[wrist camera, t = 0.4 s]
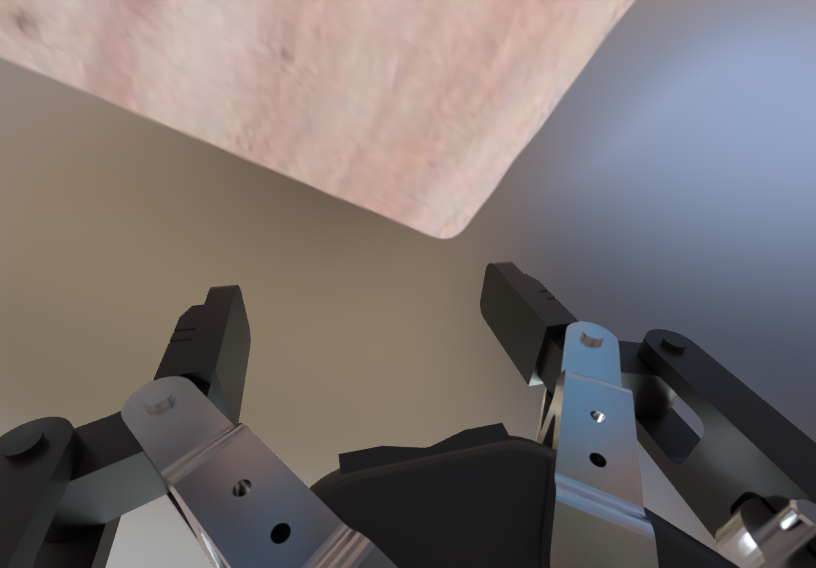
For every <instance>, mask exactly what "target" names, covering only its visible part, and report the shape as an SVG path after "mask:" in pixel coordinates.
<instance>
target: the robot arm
mask: <svg viewBox="0 0 816 568" xmlns="http://www.w3.org/2000/svg"><path fill="white" fill-rule="evenodd" d="M480 308H481V313H482V315H483V318H484V319H485V321H486V322H487V324H488V325H489V327H490V328H491V330H492V331H493V333H494V334H495V336H496V337H497V339H498V340H499V342H500V343H501V345H502V346H503V348H504V349H505V351H506V352H507V354H508V355H509V357H510V358H511V360H512V361H513V363H514V364H515V366H516V367H517V369H518V370H519V372H520V373H521V375H522V376H523V378H524V380H525V381H526V383H527V384H528V386H532V385H538V384H544V385H545V386H546V390H545V393H544V396H543V403H542V409H541V415H540V421H539V427H538V433H537V439H536V441H533V440H530V439H526V438H523V437H517V436H510V435H508V433H507V431H506V429H505V427H504V425H503V423H499V424H494V425H488V426H483V427H478V428H473V429H467V430H464V431H462V432H460V433H458V434H456V435H454V436H451V437H450V438H447V439H445V440H443V441H441V442H439V443H437V444H435V445H433V446H431V447H427V448H417V447H416V448H415V447H393V446H379V447H374V448H369V449H364V450H358V451H354V452H348V453H343V454H339V463H340V468H339V469H337V470H335V471H333V472H331V473H329V474H328V475H326V476H325V477H323V478H321V479H320V480H319V481H317V482H316V483H315V484H314V485H312V486H311V487H310V488H308V487H307V486H306V485H305V484H304V483H303V482H302V481H301V480H300V479H299V478H298V477H297V476H296V475H295V474H294V473H293V472H292V471H291V470H290V469H289V468H288V467H287V466H286V465H285V464H284V463H283V462H282V461H281V460H280V459H279V458H278V457H277V456H276V455H275V454H274V453H273V452H272V451H271V450H270V449H269V448H268V447H267V446H266V445H265V444H264V443H263V442H262V441H261V440H260V439H259V438H258V437H257V436H256V435H255V434H254V433H253V432H252V431H251V430H250V429H249V428H248V427H247V426H246V425H245V424H243V423H239V424H238V422H239V416H240V409H241V403H242V396H243V390H244V383H245V377H246V370H247V364H248V357H249V351H250V343H251V341H250V340H251V338H250V328H249V323H248V319H247V314H246V310H245V306H244V302H243V298H242V293H241V290H240V287H239V285H230V286H219V287H211V288H210V290H209V292H208V295H207V298H206V301H205V303H204V305H196V306H192V307H191V308H189V309H188V310H187V311H186V312H185V313H184V314H183V315H182V316H181V317H180V318H179V320H178V323H177V325H176V328H175V330H174V331H175V333H173V335H172V337H171V339H170V343H169V344H168V347H167V349H166V351H165V354H164V356H163V358H162V361H161V363H160V366H159V368H158V370H157V373H156V375H155V377H154V380H153V381H152V382H149V383H147V384H145V385H144V386H142V387H140V388H139V389H137V390H136V391H135V392H134V393H133V394H132V395H130V396H129V398H128V399H127V400H126V402H125V403H124V405H123V407H122V411H120V412H118V413H115V414H113V415H111V416H108V417H105V418H102V419H100V420H97V421H94V422H91V423H88V424H86V425H83V426H80V427H77V428H75V429H74V427H73V426H72V424H71V423H70V422H69V421H68V420H67V419H64V418H61V417H46V418H40V419H36V420H33V421H30V422H27V423H25V424H22V425H20V426H18V427H16V428H14V429H12V430H11V431H9V432H7V433H6V434H4V435H3V436H1V437H0V568H105V567H106V563H107V560H108V557H109V553H110V550H111V547H112V544H113V541H114V537H115V534H116V531H117V527H118V524H119V521H120V517H121V515H123V514H125V513H127V512H129V511H131V510H134V509H136V508H138V507H140V506H142V505H144V504H146V503H148V502H150V501H153V500H155V499H157V498H159V497H161V496H163V495H166V496H167V498H168V499H169V501H170V502H171V504H172V505H173V506H174V508H175V510H176V511H177V512H178V514H179V515H180V517H181V518H182V520H183V521H184V523H185V524H186V526H187V527H188V529H189V530H190V532H191V533H192V534H193V536H194V537H195V539H196V540H197V542H198V543H199V545H200V546H201V548H202V549H203V551H204V552H205V554H206V555H207V557H208V559H209V560H210V562H211V564H212V565H213V567H214V568H816V443H815V442H814V441H813V440H811V439H810V438H809V437H808V436H807V435H805V434H804V433H803V432H802V431H801V430H799V429H798V428H797V427H796V426H794V425H793V424H792V423H791V422H790V421H788V420H787V419H786V418H785V417H783V416H782V415H781V414H780V413H779V412H778V411H776V410H775V409H774V408H773V407H771V406H770V405H769V404H768V403H767V402H765V401H764V400H763V399H762V398H761V397H759V396H758V395H757V394H756V393H755V392H753V391H752V390H751V389H749V388H748V387H747V386H746V385H745V384H744V383H742V382H741V381H740V380H739V379H737V378H736V377H735V376H734V375H732V374H731V373H730V372H729V371H728V370H727V369H725V368H724V367H723V366H722V365H721V364H719V363H718V362H717V361H716V360H714V359H713V358H712V357H711V356H710V355H708V354H707V353H706V352H705V351H704V350H702V349H701V348H700V347H699V346H698V345H696V344H695V343H694V342H692V341H691V340H690V339H688V338H686V337H684V336H682V335H680V334H678V333H675V332H672V331H668V330H662V329H655V330H650V331H648V332H647V333H646V335H645V337H644V339H643V341H642V343H636V342H625V341H618V340H617V338H616V337H615V336H614V335H613V334H612V333H611V332H610V331H608V330H606V329H605V328H603V327H601V326H599V325H596V324H593V323H589V322H579V321H578V320H577V319H576V318H575V317H574V316H573V315H572V314H571V313H570V312H569V311H568V310H567V309H566V308H565V307H564V306H563V305H562V304H561V303H560V302H559V301H558V300H557V299H555V297H554V296H553V295H552V294H551V293H550V292H548V290H547V289H546V288H545V287H544V286H543V285H542V284H541V283H540V282H539V281H538V280H536V279H534V278H532V277H530V276H529V275H527V274H523V273H522V272H521V271H520V270H519V269H518V268H517V267H516V266H515V265H514V264H513V263H512V262H510V261H508V262H497V263H490V264H488V266H487V267H486V271H485V277H484V283H483V288H482V294H481V300H480ZM678 396H679V397H680V398H681V399H682V400H683V401H684V402H685V403H686V404H687V405H688V406H689V407H690V408H691V409H692V410H693V411H694V412H695V413H696V414H697V415H698V416H699V417H700V419H701V421H702V423H703V426H704V435H703V437H702V439H701V438H700V437H699V436H698V435H697V434H696V433H695V432H694V431H693V430H692V429H691V428H690V427H689V426H688V425H687V423H686V422H685V421H684V420H683V419H682V418H681V417H680V416H679V415H678V414H677V413H676V412H675V411H674V410H673V409H672V405H673V404H674V402H675V401H676V399H677V397H678ZM637 440H638V441H639V442H640V444H641V445H642V446H643V448H644V449H645V450H646V451H647V453H648V454H649V455H650V456H651V458H652V459H653V460H654V462H655V463H656V464H657V465H658V467H659V468H660V469H661V470H662V472H663V473H664V475H665V476H666V477H667V478H668V480H669V481H670V482H671V483H672V485H673V486H674V487H675V489H676V490H677V491H678V492H679V494H680V495H681V496H682V498H683V499H684V500H685V502H686V503H687V504H688V505H689V507H690V508H691V509H692V511H693V512H694V513H695V514H696V516H697V517H698V518H699V520H700V521H701V522H702V523H703V525H704V526H705V527H706V529H707V530H708V531H709V532H710V534H711V535H712V536H713V538H714V539H715V541H716V546H717V549H718V551H719V553H720V554H719V553H717V552H715V551H714V550H712V549H710V548H709V547H707V546H706V545H704V544H702V543H701V542H699V541H698V540H696V539H695V538H693V537H691V536H690V535H688V534H686V533H685V532H684V531H682V530H680V529H679V528H677V527H675V526H674V525H672V524H671V523H669V522H668V521H666V520H664V519H663V518H661V517H660V516H658V515H656V514H655V513H653V512H652V511H650V510H648V509H647V508H645V507H644V505H643V495H642V485H641V474H640V464H639V454H638V444H637Z"/></svg>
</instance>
